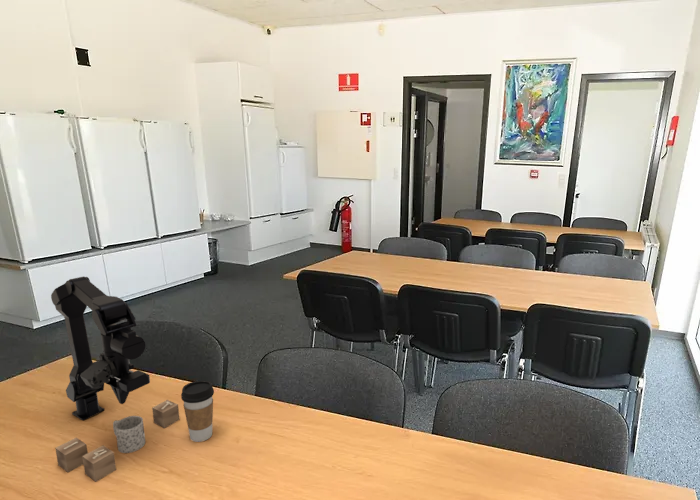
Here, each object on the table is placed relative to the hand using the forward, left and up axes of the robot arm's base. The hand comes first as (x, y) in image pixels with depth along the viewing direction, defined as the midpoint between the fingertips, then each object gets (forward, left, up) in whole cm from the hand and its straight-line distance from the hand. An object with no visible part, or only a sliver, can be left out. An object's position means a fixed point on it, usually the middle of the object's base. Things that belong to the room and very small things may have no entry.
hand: (122, 403), depth 118 cm
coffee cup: (+14, +13, -12) cm, 23 cm away
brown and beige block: (0, +12, -12) cm, 17 cm away
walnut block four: (+5, -10, -12) cm, 16 cm away
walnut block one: (-4, -12, -12) cm, 17 cm away
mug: (0, 0, -12) cm, 12 cm away
